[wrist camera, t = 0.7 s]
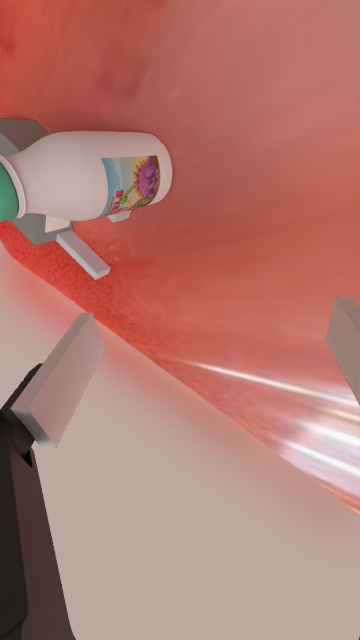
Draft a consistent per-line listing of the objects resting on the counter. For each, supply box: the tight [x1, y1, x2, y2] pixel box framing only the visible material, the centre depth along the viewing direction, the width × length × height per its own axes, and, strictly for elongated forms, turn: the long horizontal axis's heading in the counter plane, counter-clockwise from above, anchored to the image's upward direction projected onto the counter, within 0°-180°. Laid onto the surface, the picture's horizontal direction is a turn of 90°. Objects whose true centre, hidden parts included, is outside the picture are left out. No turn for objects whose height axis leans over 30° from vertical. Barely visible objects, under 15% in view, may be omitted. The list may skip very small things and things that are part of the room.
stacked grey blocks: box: [0, 118, 131, 280], centre depth 40 cm, size 14×21×11 cm, turn 59°
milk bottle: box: [0, 131, 173, 222], centre depth 27 cm, size 8×8×20 cm
